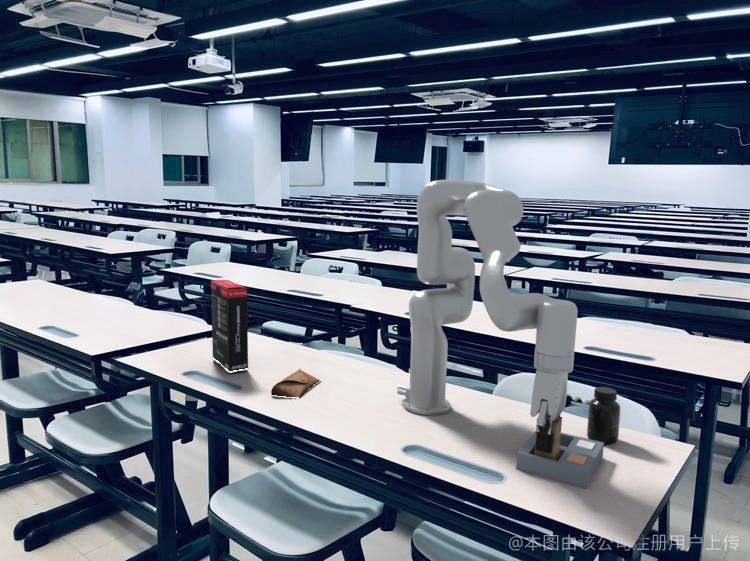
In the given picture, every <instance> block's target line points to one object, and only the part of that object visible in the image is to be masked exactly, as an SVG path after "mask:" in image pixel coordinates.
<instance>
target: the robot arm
mask: <svg viewBox="0 0 750 561" xmlns="http://www.w3.org/2000/svg"><path fill="white" fill-rule="evenodd" d="M447 216H465V217H466V220H467V222H468V224H469V227H470V230H471V231H472V234H473V237H474V239H475V241H476V244H477V246H478V249H479V251H480V253H481V255H482V259H483V263H482V267H481V270H480V274H479V293H480V298H481V300H482V302H483V305H484V307H485V309H486V312H487V315H488V317H489V319H490V320H491V322H492V323H493V325H494V326H495V327H496V328H497V329H499V330H500V331H503V332H508V333H509V332H518V331H525V330H536V331H535V346H534V358H533V360H534V361H533V367H534V368H535V369H536V371H535V376H534V381H533V388H532V396H531V404H530V411H529V413H530V415H531V417H532V418H534V417H536V416H537V415H538V416H537V418H538V420H537V419H536V425H537V435H536V450H538V451H542V452H546V453H551V452H552V447H553V434H552V428H553V421H554V420H556V419H557V417H558V416H559V417H561V414H562V413H563V411H564V409H565V408H566V403H567V397H568V396H567V394H568V377H569V375H568V374H569V373H572V372H573V370H574V360H575V347H576V336H577V334H576V333H577V325H578V324H577V322H578V307H577V305H576V303H574V302H572V301H570V300H564V299H559V298H558V299H557V298H553V297H551V296H548V295H546V294H543V293H539V292H530V293H517V294H511V292H510V290H509V288H508V285H507V283H506V280H505V274H504V270H505V269H504V268H505V265H506V263H507V262H509V261H511V260H512V259H513V258H514V257H515V256H517V255H518V254H519V252H520V250H521V242H520V241H519V239H518V236H517V235H516V232H515V230H514V226H516V225H517V224H519V223H520V222H521V220H522V218H523V216H524V206H523V203H522V200H521V198H520V197H519V196H518V195H517V194H516V193H515V192H513V191H510V190H507V189H505V188H501V187H498V186H494V185H490V184H488V183H484V182H480V181H472V180H470V181H468V180H459V179H458V180H456V179H439V180H438V179H437V180H433V181H430V182H428V183H427V184H425V185H424V186H423V187H422V189H421V190H420V192H419V194H418V197H417V201H416V217H417V223H418V239H417V240H418V241H417V257H416V275H417V277H418V280H419V281H420V282H421V283H423V284H426V285H446V288H445V287H443V288H430V289H423V290H420V291H418V292H416V293H414V294H413V295H412V296H411V298H410V299H409V302H408V314H409V321H410V329H411V330H410V333H411V336H410V339H411V341H410V343H411V344H410V364H409V365H410V366H409V367H410V368H409V370H410V372H409V374H410V375H409V386H406V385H402V384H399V385H397V386H398V387H397V392H396V393H397V395H401V396H404V397H405V398H404V399H403V402H402V405H403V407H404V409H405V410H407V411H408V412H411V413H415V414H417V415H423V416H424V415H425V416H436V415H437V416H438V415H442V414H446V413H448V412H450V411H451V408H452V407H451V402H450V401H449V400H448V399H446V386H447V385H446V384H447V368H448V367H447V366H448V339H447V337H446V334H445V333H444V331H443V328H442V326H445V325H451V324H452V325H453V324H459V323H463V322H465V321H466V320H468V319H469V317H470V316H471V315H472V310H473V305H474V304H473V303H474V292H475V291H474V290H475V280H476V278H475V277H476V276H475V275H476V266H475V260H474V258H473V255H472V254H471V252H470V251H469V250H468V249H465V248H463V247H456V246H452V244H453V243H452V240H453V230H452V226H451V224H450V222H449V220H448V218H447ZM547 415H549V416H551V417H550V418H547V417H546V416H547ZM545 421H547V422H549V427H548V424H546V422H545Z"/></svg>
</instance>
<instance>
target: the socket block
mask: <svg viewBox="0 0 750 561" xmlns="http://www.w3.org/2000/svg"><path fill="white" fill-rule="evenodd" d="M535 440H536V431H534V433H533V434H532V435H531V436H530V437H529V438H528V440H527V441H526V442H525V443H524V444H523V445H522V446H521V447H520V449H519V450H518V451H517V452H516V460H515V461H516V463H515V470H518V471H519V470H520V471H523V472H526V473H530V474H534V475H537V476H541V477H544V478H548V479H551V480H553V481H554V480H555V481H557V482H561V483H565V484H568V485H572V486H575V487H580V488H583V489H588V487H589V486H590V484H591V482H592V480H593V478H594V476H595V473H596V472H597V470H598V468H599V466H600V464H601V462H602V460H603V456H604V448H605V447H604V446H605V444H604V443H603V442H599V441H595V440H590V439H589V438H586V437H581V436H577V435H573V434H568V433H564V432H561V440H560V453H559V461H555V460H551V459H547V458H544V457H540V456H536V455H535Z"/></svg>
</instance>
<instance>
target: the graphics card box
mask: <svg viewBox="0 0 750 561" xmlns="http://www.w3.org/2000/svg"><path fill="white" fill-rule="evenodd" d="M210 294H211V295H210V296H211V298H210V299H211V300H210V301H211V302H210V303H211V304H210V305H211V339H212V340H211V341H212V358H213V357H214V358H215V359H216V360H218V361H219V362H220V363H221V364H222V365H223V366H224V367H225V368H227V369H228V370H229V371H233V370H239V369H245V368H248V369H249V344H248V343H249V340H248V338H249V336H248V327H249V326H248V288H247V287H246V286H243V285H240V284H238V283H235V282H234V281H232V280H229V279H217V280H216V279H215V280H210Z"/></svg>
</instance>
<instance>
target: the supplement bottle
mask: <svg viewBox="0 0 750 561" xmlns="http://www.w3.org/2000/svg"><path fill="white" fill-rule="evenodd" d="M617 396H618V394H617V390H616V389H613V388H610V387H605V386H599V387H595V388H594V393H593V397H594V398H592V399H591V400H590V401H589V402H588V413H587V414H588V415H587V429H586V431H587V432H586V436H587V439H590V440H595V441H599V442H603V443H604V446H605V445H606V446H607V445H608V446H609V445H610V446H611V445H614V444H616V443H617V442H618V441H619V434H620V421H621V406H620V404H619V402H617V399H618V397H617Z"/></svg>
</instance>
